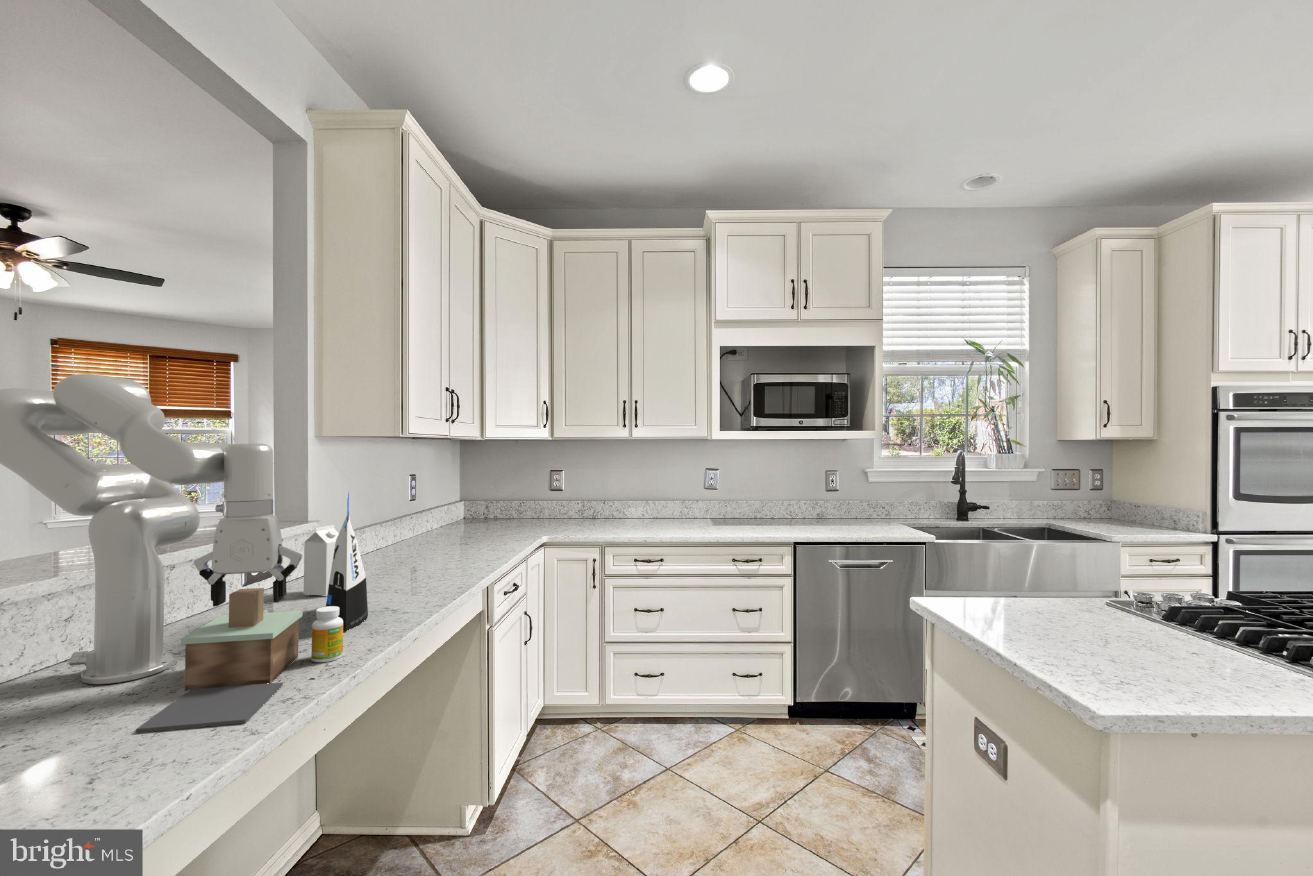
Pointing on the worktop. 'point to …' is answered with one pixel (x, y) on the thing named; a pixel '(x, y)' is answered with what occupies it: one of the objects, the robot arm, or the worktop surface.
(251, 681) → the storage box
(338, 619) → the supplement bottle
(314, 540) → the milk carton
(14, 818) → the worktop surface
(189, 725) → the rubber mat
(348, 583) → the protein powder
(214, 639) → the lid
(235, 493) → the robot arm
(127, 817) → the worktop surface
